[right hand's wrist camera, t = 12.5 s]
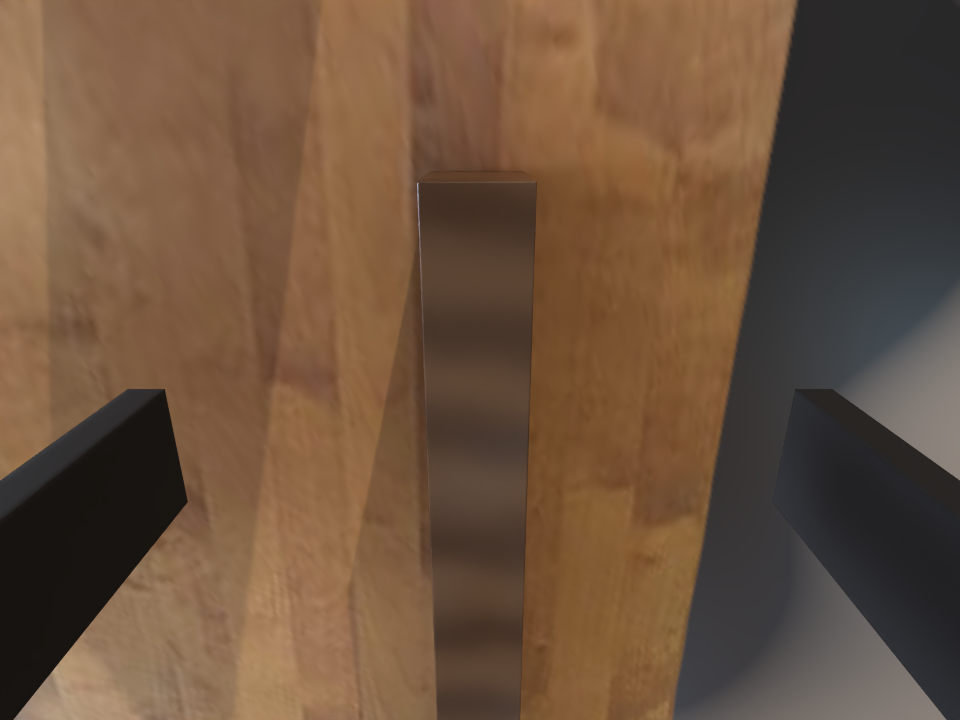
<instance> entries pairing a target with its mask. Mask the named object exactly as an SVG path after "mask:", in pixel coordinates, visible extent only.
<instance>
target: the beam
mask: <svg viewBox="0 0 960 720" xmlns="http://www.w3.org/2000/svg"><path fill="white" fill-rule="evenodd" d="M536 192H537V182H536V181H535V180H534V179H532V178H531V177H530V176H529V175H527V174H526V173H525V172H430V173H429V174H428V175H426V176H425V177H424V178H422V179H421V180H419V181H418V182H417V194H418V221H419V248H420V275H421V301H422V328H423V355H424V382H425V409H426V436H427V463H428V490H429V516H430V543H431V570H432V597H433V624H434V651H435V678H436V705H437V720H520V701H521V669H522V637H523V606H524V574H525V542H526V510H527V479H528V447H529V415H530V383H531V351H532V320H533V288H534V256H535V224H536Z"/></svg>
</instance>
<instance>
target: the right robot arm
mask: <svg viewBox="0 0 960 720" xmlns="http://www.w3.org/2000/svg"><path fill="white" fill-rule="evenodd" d="M187 502H188V501H187V496H186V491H185V486H184V481H183V476H182V472H181V467H180V462H179V457H178V452H177V447H176V442H175V437H174V432H173V428H172V423H171V418H170V413H169V408H168V403H167V398H166V393H165V389H127V390H126V391H125V392H123V393H122V394H120V395H119V396H118V397H116V398H115V399H113V400H112V401H111V402H109V403H108V404H106V405H105V406H104V407H102V408H101V409H100V410H98V411H97V412H95V413H94V414H93V415H91V416H90V417H88V418H87V419H86V420H84V421H83V422H81V423H80V424H79V425H77V426H76V427H74V428H73V429H72V430H70V431H69V432H67V433H66V434H65V435H63V436H62V437H60V438H59V439H58V440H56V441H55V442H53V443H52V444H51V445H49V446H48V447H46V448H45V449H44V450H42V451H41V452H39V453H38V454H37V455H35V456H34V457H32V458H31V459H30V460H28V461H27V462H26V463H24V464H23V465H21V466H20V467H19V468H17V469H16V470H14V471H13V472H12V473H10V474H9V475H7V476H6V477H5V478H3V479H2V480H0V720H14V718H15V717H16V716H17V715H18V713H19V712H20V711H21V710H22V708H23V707H24V706H25V705H26V703H27V702H28V701H29V700H30V698H31V697H32V696H33V695H34V693H35V692H36V691H37V690H38V688H39V687H40V686H41V685H42V683H43V682H44V681H45V680H46V678H47V677H48V676H49V675H50V673H51V672H52V671H53V670H54V668H55V667H56V666H57V665H58V663H59V662H60V661H61V660H62V658H63V657H64V656H65V655H66V653H67V652H68V651H69V650H70V648H71V647H72V646H73V645H74V643H75V642H76V641H77V640H78V638H79V637H80V636H81V635H82V633H83V632H84V631H85V630H86V628H87V627H88V626H89V625H90V623H91V622H92V621H93V620H94V618H95V617H96V616H97V615H98V613H99V612H100V611H101V610H102V608H103V607H104V606H105V605H106V603H107V602H108V601H109V600H110V598H111V597H112V596H113V595H114V593H115V592H116V591H117V590H118V588H119V587H120V586H121V585H122V583H123V582H124V581H125V580H126V578H127V577H128V576H129V575H130V573H131V572H132V571H133V570H134V568H135V567H136V566H137V565H138V563H139V562H140V561H141V560H142V558H143V557H144V556H145V555H146V553H147V552H148V551H149V550H150V548H151V547H152V546H153V545H154V543H155V542H156V541H157V540H158V538H159V537H160V536H161V535H162V533H163V532H164V531H165V530H166V528H167V527H168V526H169V525H170V523H171V522H172V521H173V520H174V518H175V517H176V516H177V515H178V513H179V512H180V511H181V510H182V508H183V507H184V506H185V505H186V503H187ZM772 502H773V503H774V505H775V506H776V507H777V508H778V510H779V511H780V512H781V513H782V515H783V516H784V517H785V518H786V520H787V521H788V522H789V523H790V525H791V526H792V527H793V528H794V530H795V531H796V532H797V533H798V535H799V536H800V537H801V538H802V540H803V541H804V542H805V543H806V545H807V546H808V547H809V548H810V550H811V551H812V552H813V553H814V555H815V556H816V557H817V558H818V560H819V561H820V562H821V563H822V565H823V566H824V567H825V568H826V570H827V571H828V572H829V573H830V575H831V576H832V577H833V578H834V580H835V581H836V582H837V583H838V585H839V586H840V587H841V588H842V590H843V591H844V592H845V593H846V595H847V596H848V597H849V598H850V600H851V601H852V602H853V603H854V605H855V606H856V607H857V608H858V610H859V611H860V612H861V613H862V615H863V616H864V617H865V618H866V620H867V621H868V622H869V623H870V625H871V626H872V627H873V628H874V630H875V631H876V632H877V633H878V635H879V636H880V637H881V638H882V640H883V641H884V642H885V643H886V645H887V646H888V647H889V648H890V649H891V651H892V652H893V653H894V654H895V656H896V657H897V658H898V659H899V661H900V662H901V663H902V665H903V666H904V667H905V668H906V670H907V671H908V672H909V673H910V675H911V676H912V677H913V678H914V680H915V681H916V682H917V683H918V685H919V686H920V687H921V688H922V690H923V691H924V692H925V693H926V695H927V696H928V697H929V698H930V699H931V701H932V702H933V703H934V705H935V706H936V707H937V708H938V710H939V711H940V712H941V713H942V715H943V716H944V717H945V718H946V719H947V720H960V480H958V479H957V478H955V477H954V476H953V475H951V474H950V473H948V472H947V471H946V470H944V469H943V468H941V467H940V466H939V465H937V464H936V463H934V462H933V461H932V460H930V459H929V458H928V457H926V456H925V455H923V454H922V453H920V452H919V451H918V450H916V449H915V448H914V447H912V446H911V445H909V444H908V443H907V442H905V441H904V440H902V439H901V438H900V437H898V436H897V435H895V434H894V433H893V432H891V431H890V430H888V429H887V428H886V427H884V426H883V425H881V424H880V423H879V422H877V421H876V420H874V419H873V418H872V417H870V416H869V415H867V414H866V413H865V412H863V411H862V410H860V409H859V408H858V407H856V406H855V405H854V404H852V403H851V402H849V401H848V400H847V399H845V398H844V397H842V396H841V395H839V394H838V393H837V392H835V391H834V390H832V389H795V393H794V398H793V403H792V408H791V413H790V418H789V423H788V428H787V432H786V437H785V442H784V447H783V452H782V457H781V462H780V467H779V472H778V477H777V481H776V486H775V491H774V496H773V501H772Z"/></svg>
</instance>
